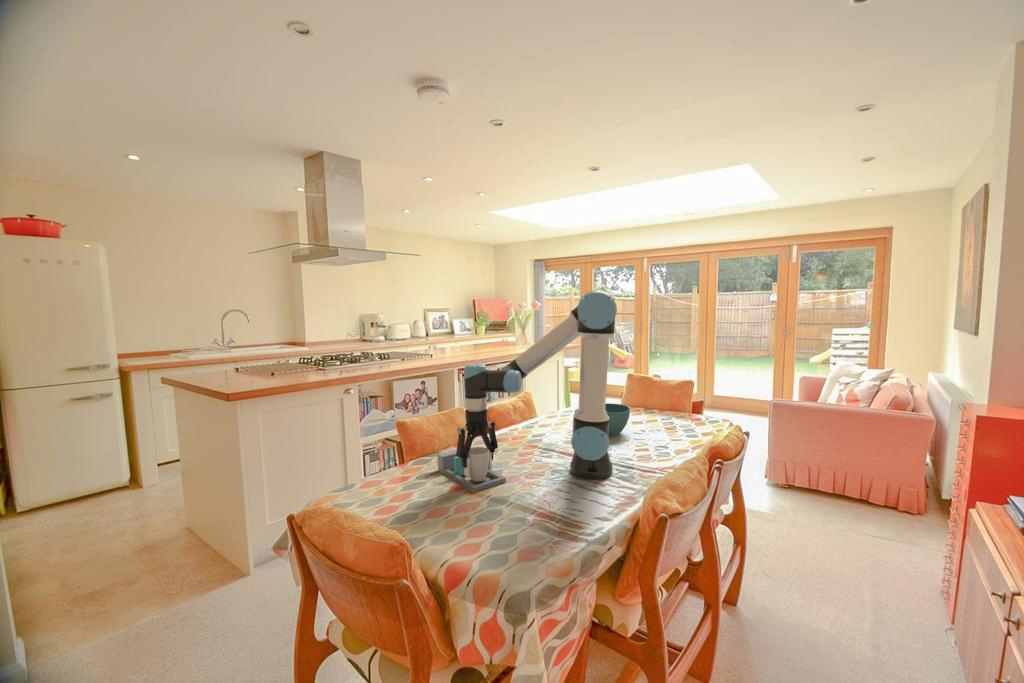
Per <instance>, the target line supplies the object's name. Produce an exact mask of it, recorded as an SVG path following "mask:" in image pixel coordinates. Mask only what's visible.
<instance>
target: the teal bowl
mask: <svg viewBox="0 0 1024 683" xmlns="http://www.w3.org/2000/svg"><path fill="white" fill-rule="evenodd" d="M605 410H606V411H607V415H608V416H609V437H614V436H615V437H616V436H619V435H620V434H621V432H623V430H624V429H625V427H626V426H627V424H628V422H629V418H630V413H631V408H630V406H628V405H624V404H620V403H610V402H609V403H608V402H606V404H605Z"/></svg>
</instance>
